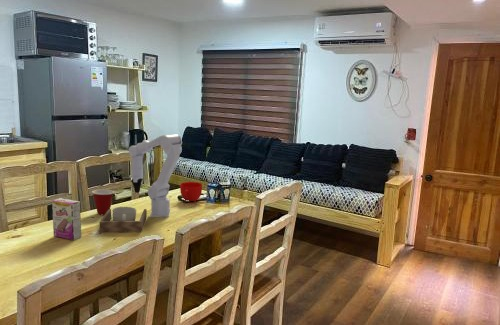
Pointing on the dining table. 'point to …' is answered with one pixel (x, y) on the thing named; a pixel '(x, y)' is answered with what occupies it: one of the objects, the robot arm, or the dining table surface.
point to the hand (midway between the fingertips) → (137, 192)
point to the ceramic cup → (191, 190)
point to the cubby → (121, 224)
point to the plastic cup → (103, 200)
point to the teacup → (124, 214)
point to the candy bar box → (66, 218)
